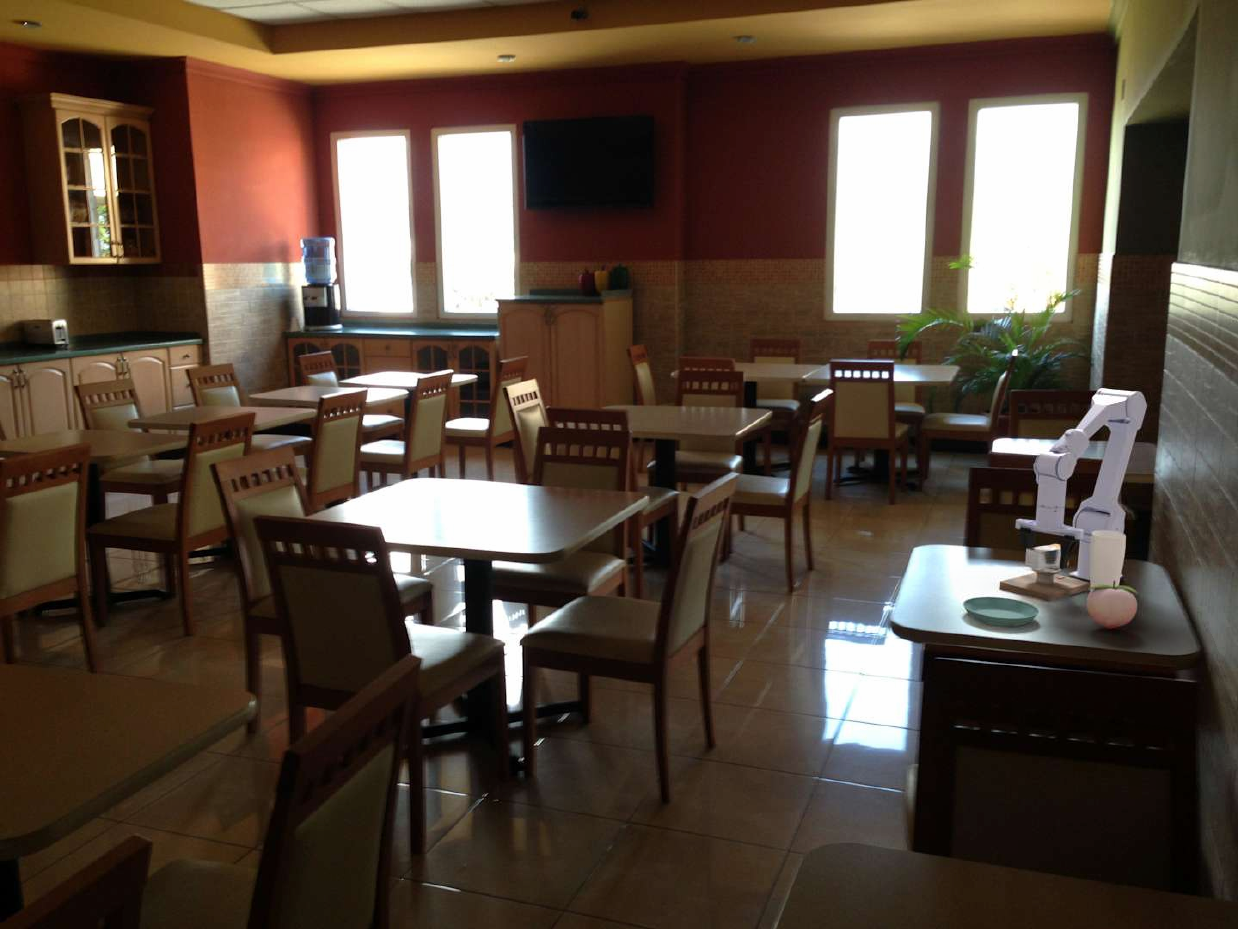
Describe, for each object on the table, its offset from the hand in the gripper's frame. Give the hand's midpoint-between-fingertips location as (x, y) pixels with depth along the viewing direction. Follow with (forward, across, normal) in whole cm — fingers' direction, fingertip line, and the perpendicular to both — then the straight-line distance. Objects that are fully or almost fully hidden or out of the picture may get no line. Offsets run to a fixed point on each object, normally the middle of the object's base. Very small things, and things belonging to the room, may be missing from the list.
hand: (1046, 564), depth 232 cm
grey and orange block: (+1, 0, 0) cm, 1 cm away
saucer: (+6, +3, -27) cm, 28 cm away
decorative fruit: (+6, +22, -18) cm, 28 cm away
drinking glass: (+6, +13, 0) cm, 14 cm away
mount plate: (+6, 0, 0) cm, 6 cm away
